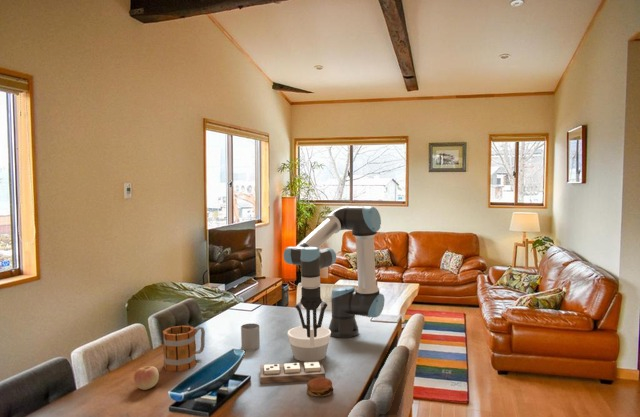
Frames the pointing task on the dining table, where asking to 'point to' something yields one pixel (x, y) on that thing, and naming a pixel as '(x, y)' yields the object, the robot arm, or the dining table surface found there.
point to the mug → (181, 347)
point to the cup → (250, 336)
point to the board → (290, 375)
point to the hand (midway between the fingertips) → (312, 344)
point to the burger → (319, 387)
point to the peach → (146, 377)
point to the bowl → (302, 344)
